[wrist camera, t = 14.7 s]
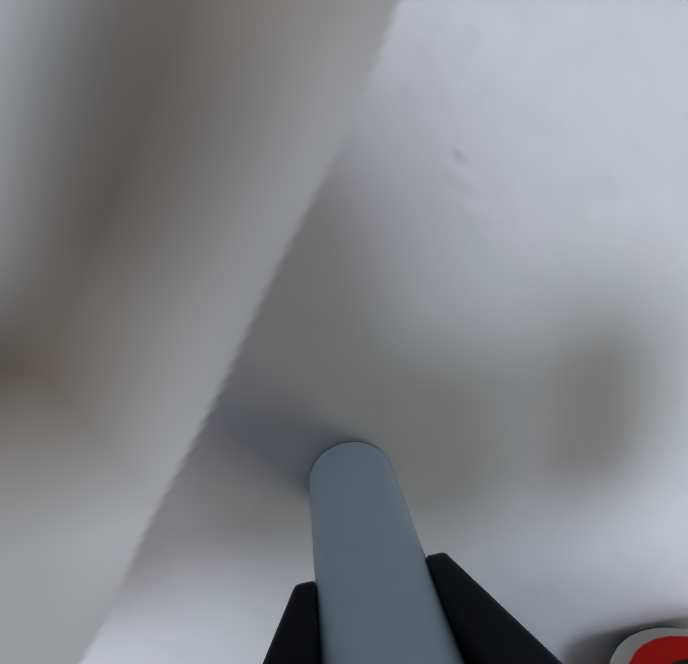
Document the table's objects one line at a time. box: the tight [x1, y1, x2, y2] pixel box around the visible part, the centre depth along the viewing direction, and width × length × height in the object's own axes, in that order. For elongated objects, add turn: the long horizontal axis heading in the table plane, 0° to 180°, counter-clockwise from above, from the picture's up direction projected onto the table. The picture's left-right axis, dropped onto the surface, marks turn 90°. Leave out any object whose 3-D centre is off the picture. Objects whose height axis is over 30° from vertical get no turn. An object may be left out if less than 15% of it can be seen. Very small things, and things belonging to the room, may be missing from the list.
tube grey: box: [309, 442, 465, 664], centre depth 7 cm, size 3×3×10 cm
